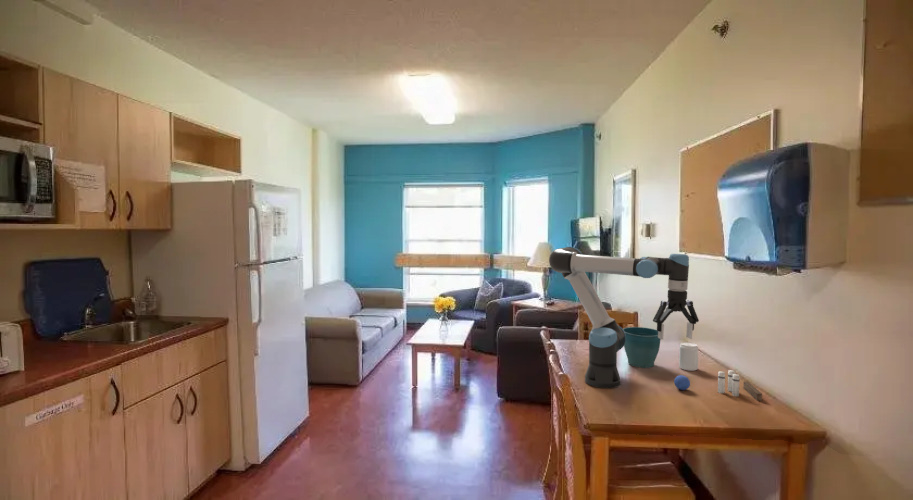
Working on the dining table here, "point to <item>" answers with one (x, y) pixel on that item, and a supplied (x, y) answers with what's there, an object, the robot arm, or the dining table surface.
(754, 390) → the wall
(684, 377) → the ball
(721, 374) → the front pin
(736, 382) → the pin
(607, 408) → the dining table surface
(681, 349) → the beverage can
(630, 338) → the flower pot
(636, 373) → the dining table surface
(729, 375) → the pin
